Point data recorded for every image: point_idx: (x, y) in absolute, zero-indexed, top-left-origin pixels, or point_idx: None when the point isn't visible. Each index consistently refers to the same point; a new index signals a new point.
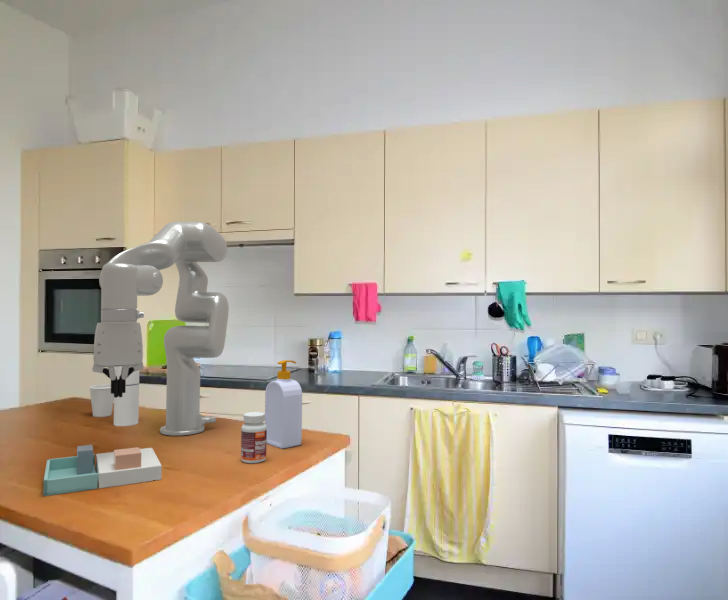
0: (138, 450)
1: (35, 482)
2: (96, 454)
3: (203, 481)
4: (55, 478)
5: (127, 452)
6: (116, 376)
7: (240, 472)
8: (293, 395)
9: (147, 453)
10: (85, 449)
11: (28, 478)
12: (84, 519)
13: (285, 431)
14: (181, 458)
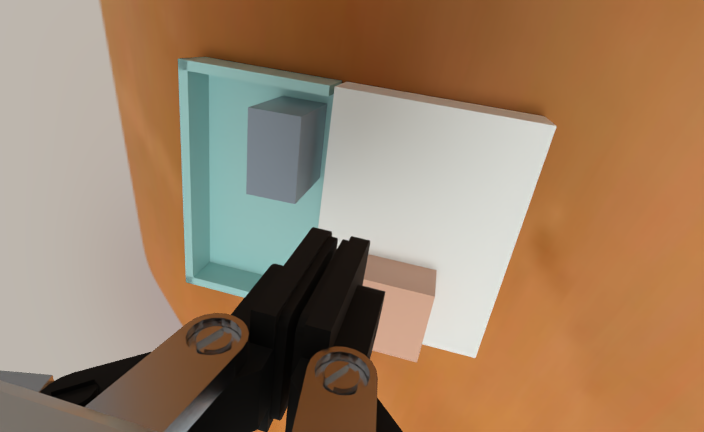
0: (418, 332)
1: None
2: (333, 97)
3: (556, 407)
4: (209, 281)
5: (380, 332)
6: (252, 402)
7: (693, 418)
8: None
9: (499, 205)
10: (271, 179)
11: (162, 84)
12: (273, 419)
13: None
14: (653, 166)
